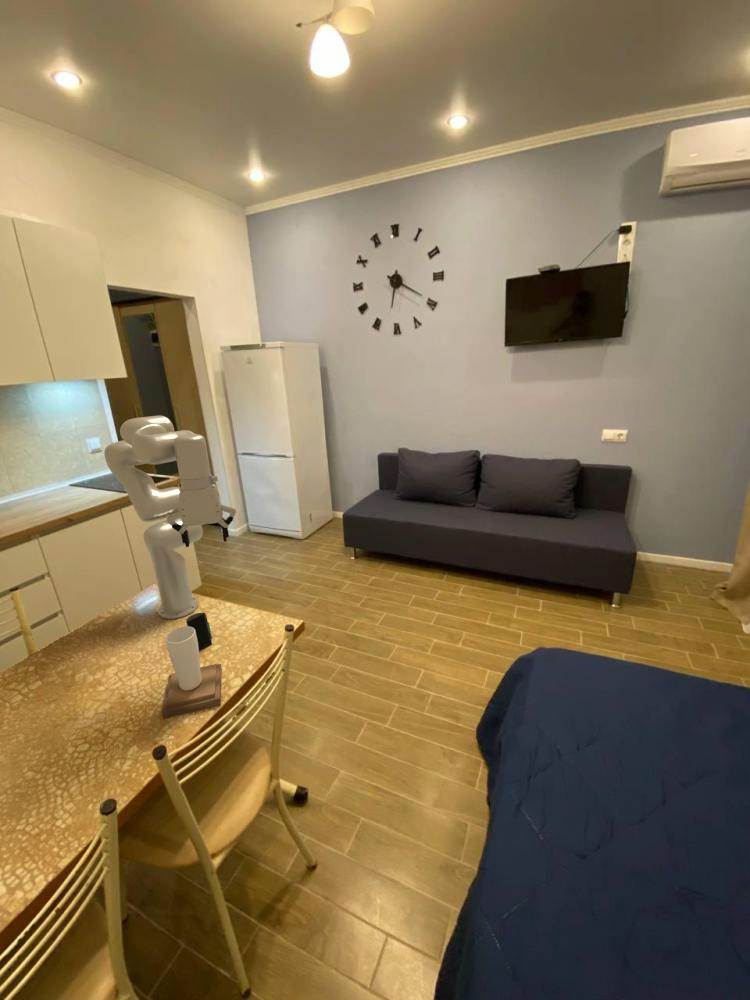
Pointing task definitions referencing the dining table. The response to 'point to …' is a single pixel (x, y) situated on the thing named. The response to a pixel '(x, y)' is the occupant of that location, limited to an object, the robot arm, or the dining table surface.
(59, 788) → the dining table surface
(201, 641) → the speaker
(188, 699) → the pedestal
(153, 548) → the robot arm
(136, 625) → the dining table surface
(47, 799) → the dining table surface
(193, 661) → the drinking glass
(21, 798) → the dining table surface
